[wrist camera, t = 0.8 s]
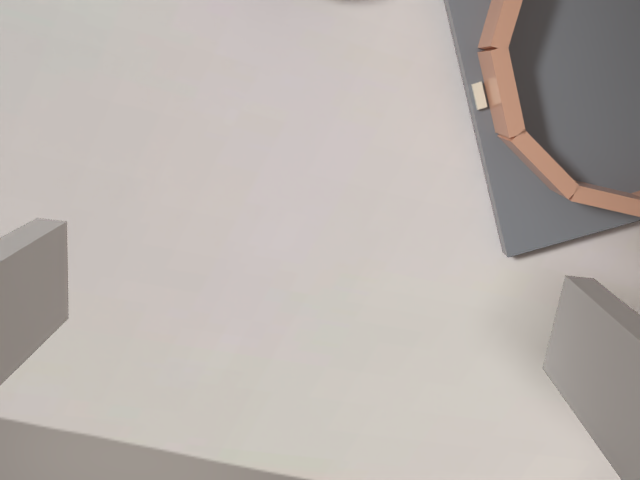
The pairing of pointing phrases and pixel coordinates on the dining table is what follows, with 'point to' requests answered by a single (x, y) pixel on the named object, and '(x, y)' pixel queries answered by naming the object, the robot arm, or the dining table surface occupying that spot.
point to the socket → (553, 113)
